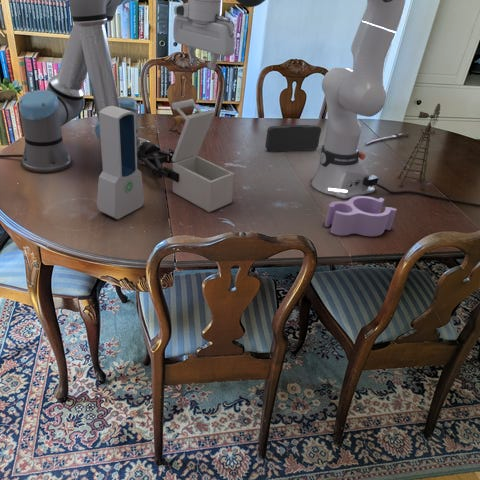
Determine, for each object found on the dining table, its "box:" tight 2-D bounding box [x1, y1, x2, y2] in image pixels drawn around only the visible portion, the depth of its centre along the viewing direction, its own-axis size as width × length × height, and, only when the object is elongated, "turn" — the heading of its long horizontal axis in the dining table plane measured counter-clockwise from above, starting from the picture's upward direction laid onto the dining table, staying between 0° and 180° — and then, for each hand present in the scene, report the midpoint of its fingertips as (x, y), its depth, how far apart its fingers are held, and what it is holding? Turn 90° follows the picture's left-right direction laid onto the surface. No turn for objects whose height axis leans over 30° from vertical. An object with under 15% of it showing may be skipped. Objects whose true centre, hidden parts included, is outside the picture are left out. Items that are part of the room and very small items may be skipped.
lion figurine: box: [168, 110, 199, 134], centre depth 195 cm, size 15×5×9 cm, turn 110°
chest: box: [172, 155, 235, 213], centre depth 147 cm, size 17×10×10 cm, turn 48°
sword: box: [366, 133, 410, 146], centre depth 213 cm, size 31×3×1 cm, turn 126°
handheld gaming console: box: [264, 124, 322, 152], centre depth 189 cm, size 23×3×10 cm, turn 108°
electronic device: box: [96, 106, 145, 220], centre depth 130 cm, size 12×8×30 cm, turn 148°
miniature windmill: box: [398, 102, 441, 191], centre depth 166 cm, size 9×8×30 cm
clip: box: [324, 195, 398, 237], centre depth 141 cm, size 20×12×7 cm, turn 109°
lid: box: [171, 98, 216, 162], centre depth 143 cm, size 18×10×9 cm
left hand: (190, 173), depth 149 cm, fingers closed on chest, 10 cm apart
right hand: (202, 66), depth 130 cm, fingers open, 5 cm apart
